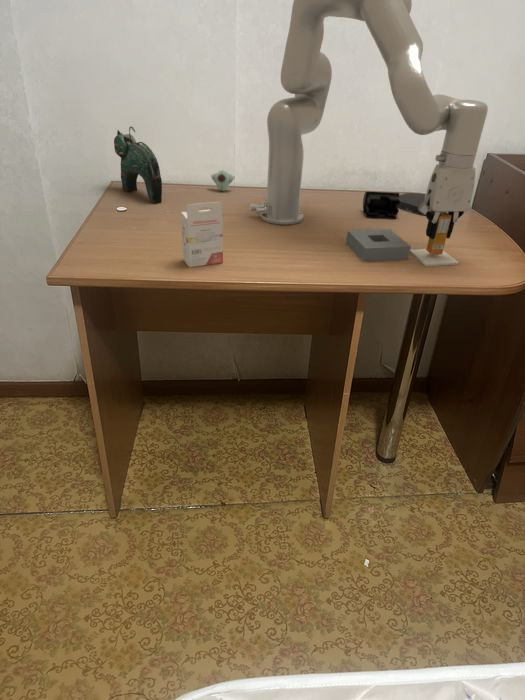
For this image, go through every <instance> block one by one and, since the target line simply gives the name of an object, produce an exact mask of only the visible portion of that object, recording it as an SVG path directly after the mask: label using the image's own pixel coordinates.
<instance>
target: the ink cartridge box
mask: <svg viewBox="0 0 525 700" xmlns="http://www.w3.org/2000/svg"><path fill="white" fill-rule="evenodd" d="M204 208H207V209H204ZM222 214H223V205H222V202H221V201H214V202H213V201H212V202H198V203H191V204H186V211H181V212H180V219H181V220H180V221H181V239H182V241H181V242H182V259H183V262H184V263H185V264H186V265H187V266H188V267H189V268H194V267H202V266H208V265H216V264H218V265H219V264H223V262H224V254H223V253H224V250H223V249H224V241H223V240H224V238H223V237H224V236H223V235H224V224H223V223H224V222H223V221H224V220H223V219H224V218H223V215H222Z"/></svg>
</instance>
